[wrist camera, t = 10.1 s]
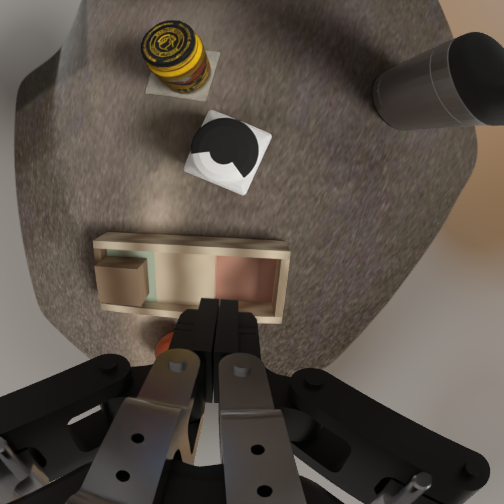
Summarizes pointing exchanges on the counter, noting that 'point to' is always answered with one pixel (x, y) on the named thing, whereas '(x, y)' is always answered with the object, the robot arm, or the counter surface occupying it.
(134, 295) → the walnut block
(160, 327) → the counter surface
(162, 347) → the tomato
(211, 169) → the medicine bottle
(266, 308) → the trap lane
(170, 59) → the condiment
